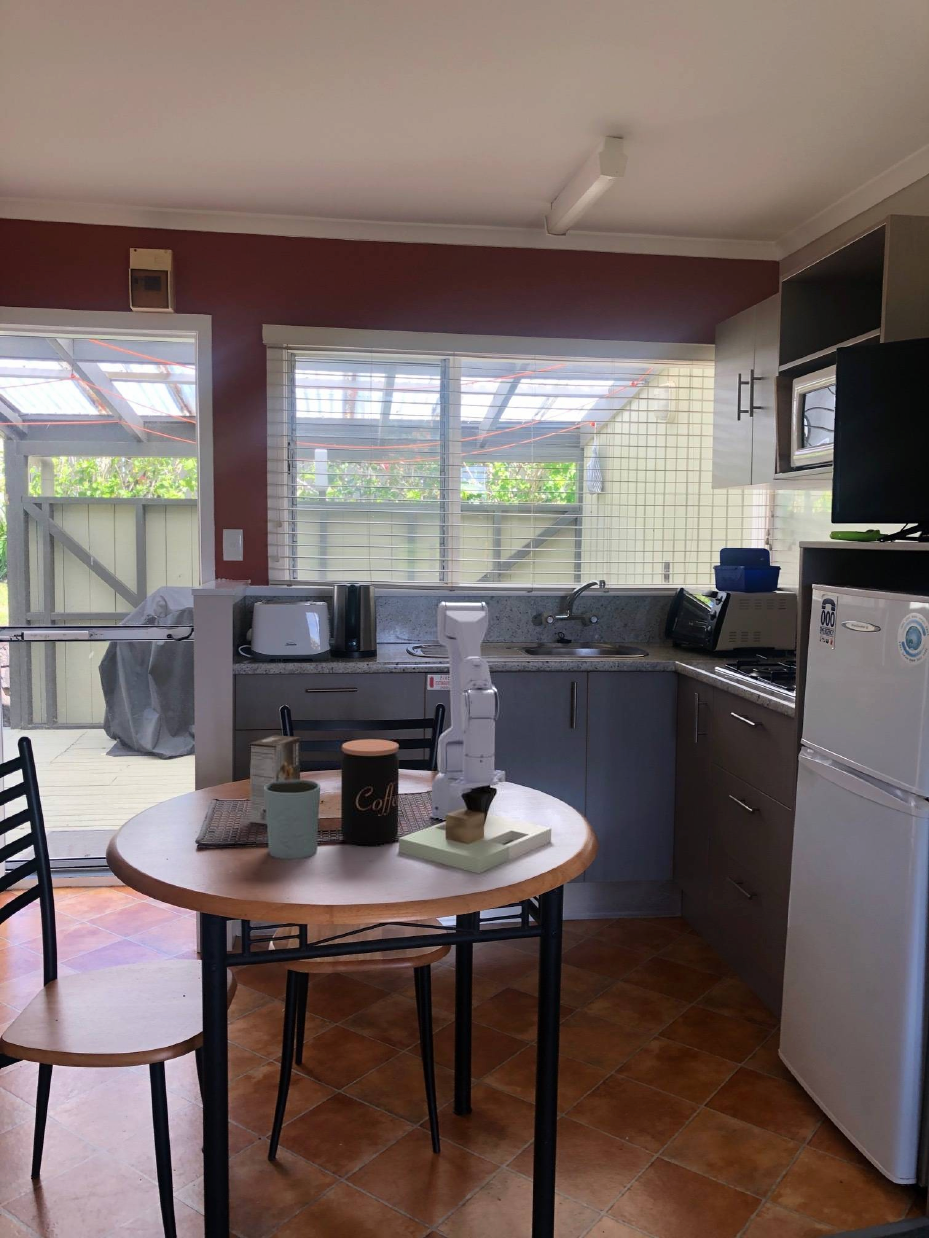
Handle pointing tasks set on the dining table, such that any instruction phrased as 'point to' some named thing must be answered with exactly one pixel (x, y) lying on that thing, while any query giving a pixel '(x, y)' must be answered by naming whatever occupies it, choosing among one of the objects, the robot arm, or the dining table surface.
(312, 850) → the pale green cup
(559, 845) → the dining table surface
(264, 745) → the coffee box
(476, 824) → the block
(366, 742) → the coffee jar
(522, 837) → the pale green slotted tray
